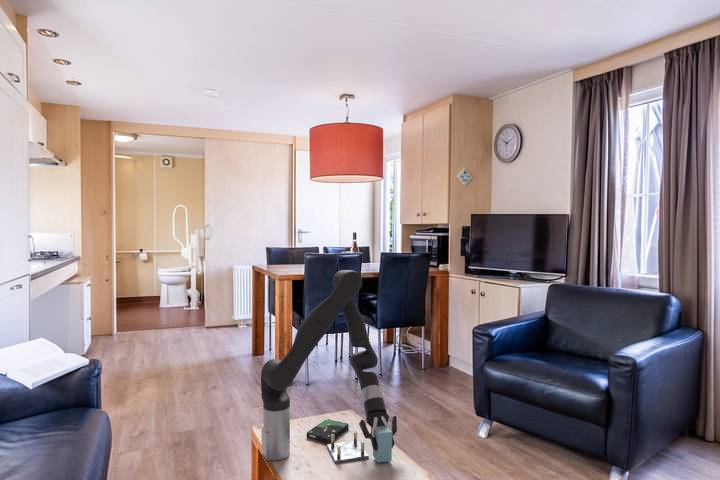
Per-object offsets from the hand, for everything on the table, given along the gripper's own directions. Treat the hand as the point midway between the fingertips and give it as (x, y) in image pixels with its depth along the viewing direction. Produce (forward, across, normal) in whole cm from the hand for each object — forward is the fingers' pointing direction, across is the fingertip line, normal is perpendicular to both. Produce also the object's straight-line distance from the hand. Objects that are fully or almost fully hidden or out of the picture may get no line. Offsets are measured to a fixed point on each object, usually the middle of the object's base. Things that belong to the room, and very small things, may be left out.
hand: (384, 448), depth 155 cm
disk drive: (-15, -13, +24) cm, 31 cm away
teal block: (+2, 0, +4) cm, 5 cm away
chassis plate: (-4, -10, +11) cm, 15 cm away
